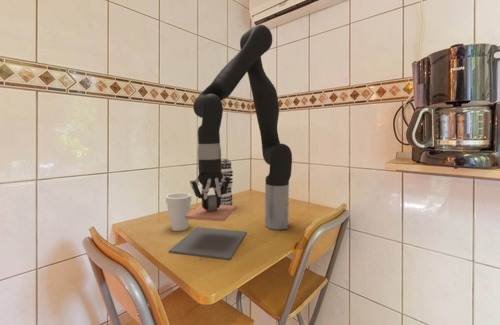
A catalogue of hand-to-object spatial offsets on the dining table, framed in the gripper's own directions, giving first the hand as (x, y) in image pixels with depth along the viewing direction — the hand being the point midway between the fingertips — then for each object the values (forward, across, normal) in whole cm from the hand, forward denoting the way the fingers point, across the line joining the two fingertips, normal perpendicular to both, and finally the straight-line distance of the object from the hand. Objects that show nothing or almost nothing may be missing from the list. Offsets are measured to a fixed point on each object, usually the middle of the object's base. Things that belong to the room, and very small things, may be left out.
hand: (211, 208), depth 80 cm
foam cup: (+12, +6, -19) cm, 23 cm away
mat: (+12, 0, 0) cm, 12 cm away
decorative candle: (+12, -20, -31) cm, 39 cm away
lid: (+2, 0, 0) cm, 2 cm away
